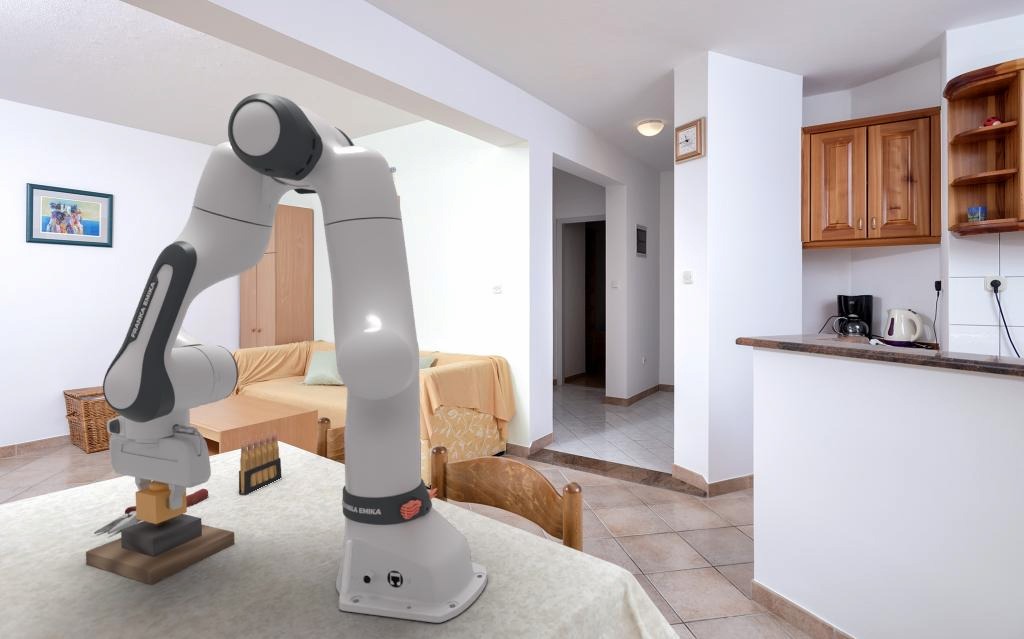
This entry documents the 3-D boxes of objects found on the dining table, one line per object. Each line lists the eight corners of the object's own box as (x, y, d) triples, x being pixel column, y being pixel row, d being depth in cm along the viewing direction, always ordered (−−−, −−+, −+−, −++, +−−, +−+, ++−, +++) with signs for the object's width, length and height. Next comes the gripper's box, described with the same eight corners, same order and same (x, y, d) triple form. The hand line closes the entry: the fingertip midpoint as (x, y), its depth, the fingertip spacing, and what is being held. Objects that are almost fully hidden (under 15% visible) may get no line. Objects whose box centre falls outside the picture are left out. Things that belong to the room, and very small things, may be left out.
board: (234, 543, 90) (232, 489, 89) (150, 584, 77) (148, 521, 77) (173, 528, 96) (171, 477, 96) (86, 563, 83) (83, 505, 83)
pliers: (73, 537, 94) (73, 523, 93) (164, 496, 113) (163, 484, 113) (129, 542, 92) (129, 527, 92) (211, 498, 112) (211, 486, 112)
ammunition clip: (245, 495, 112) (243, 440, 112) (238, 494, 113) (236, 439, 112) (281, 479, 122) (280, 428, 122) (275, 478, 123) (274, 427, 122)
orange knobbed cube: (186, 512, 88) (185, 478, 87) (156, 524, 83) (155, 488, 83) (167, 507, 90) (166, 475, 89) (136, 519, 85) (135, 484, 85)
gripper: (219, 423, 84) (222, 507, 85) (139, 413, 92) (142, 490, 93) (181, 433, 79) (185, 523, 79) (99, 421, 87) (103, 503, 87)
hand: (161, 505), depth 86 cm, fingers closed on orange knobbed cube, 5 cm apart
